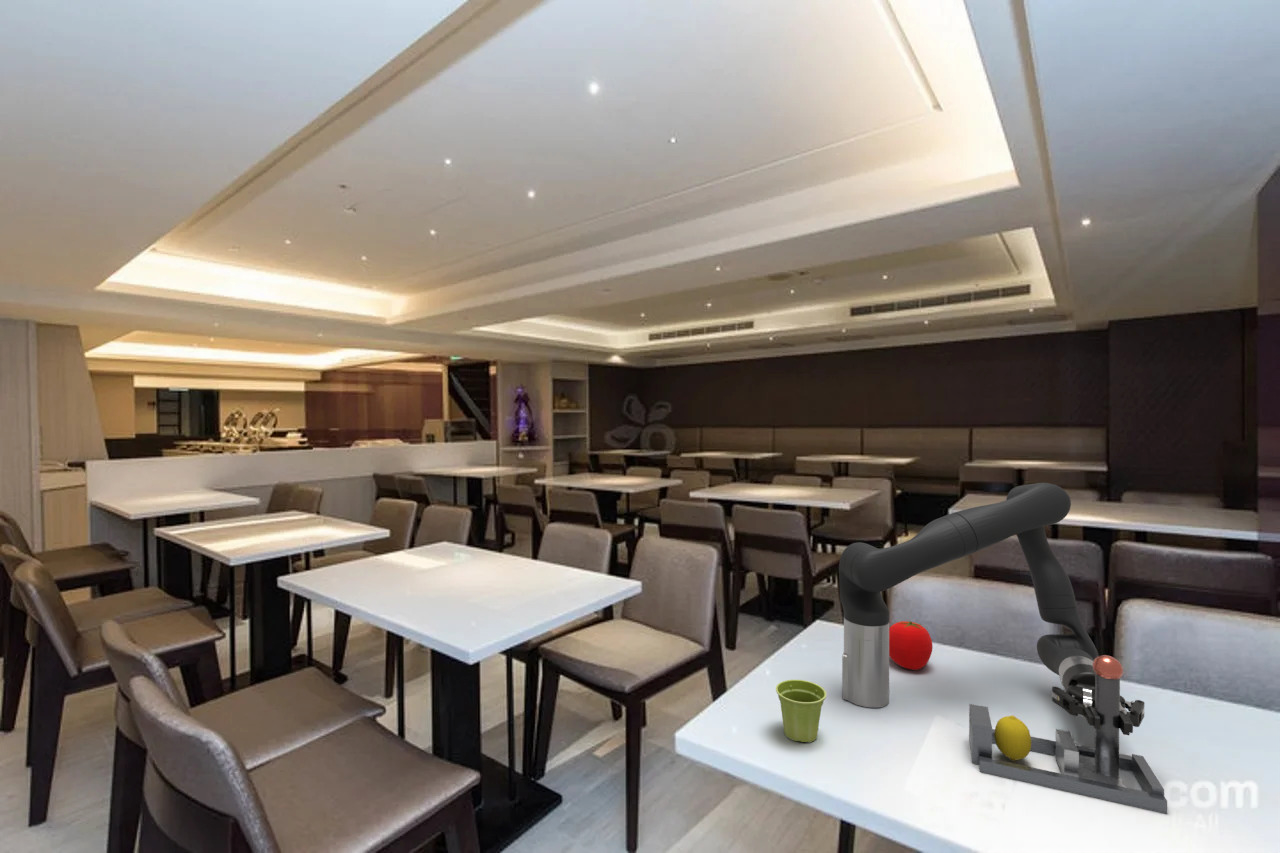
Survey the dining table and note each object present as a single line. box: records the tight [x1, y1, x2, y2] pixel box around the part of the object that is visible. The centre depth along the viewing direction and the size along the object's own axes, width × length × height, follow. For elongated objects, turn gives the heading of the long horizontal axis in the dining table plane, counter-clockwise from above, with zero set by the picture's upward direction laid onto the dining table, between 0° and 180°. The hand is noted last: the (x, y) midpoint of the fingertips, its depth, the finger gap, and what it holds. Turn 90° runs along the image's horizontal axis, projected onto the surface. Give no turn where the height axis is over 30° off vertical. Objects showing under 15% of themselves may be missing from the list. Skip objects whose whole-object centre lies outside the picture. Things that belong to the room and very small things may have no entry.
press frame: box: [968, 703, 1168, 814], centre depth 102 cm, size 26×13×7 cm, turn 64°
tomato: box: [889, 620, 934, 671], centre depth 144 cm, size 10×11×11 cm
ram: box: [1054, 654, 1126, 787], centre depth 100 cm, size 8×8×21 cm
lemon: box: [994, 715, 1032, 762], centre depth 105 cm, size 6×6×8 cm
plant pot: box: [775, 679, 827, 743], centre depth 113 cm, size 9×9×9 cm
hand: (1112, 726), depth 96 cm, fingers closed on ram, 3 cm apart
